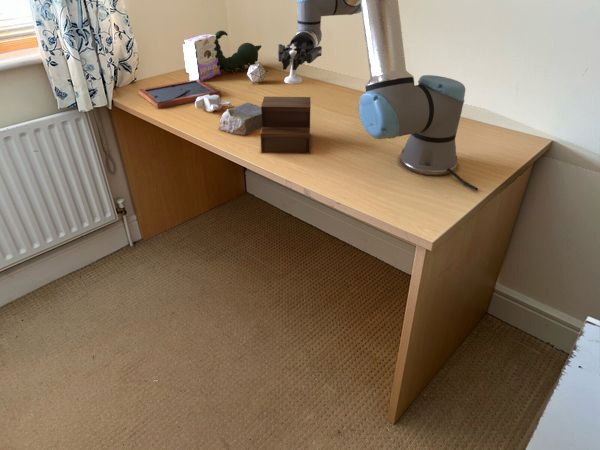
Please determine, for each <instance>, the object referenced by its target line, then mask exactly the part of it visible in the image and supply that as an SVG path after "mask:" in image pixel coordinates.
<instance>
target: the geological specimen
mask: <svg viewBox="0 0 600 450" xmlns="http://www.w3.org/2000/svg"><path fill="white" fill-rule="evenodd" d="M218 129H219V130H220V131H223V132H226V133H230V134H234V135H241V136H246V135H248V134H251V133H254V132H257V131H259V130H262V113H261V106H260V105H257V104H253V103H251V102H245V103H242V104H239V105H237V106H234V107H231V108H227V109H226V110H225V111H224V112H223V113H222V115H221V117H220V120H219V125H218Z"/></svg>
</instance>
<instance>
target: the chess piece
mask: <svg viewBox="0 0 600 450" xmlns="http://www.w3.org/2000/svg"><path fill="white" fill-rule="evenodd" d="M290 48H292V50H291V51H290V52H289V53H290V56H291V59H290V72H289V75H288V76H285V78H284V83H285V84H290V85H297V84H300V83H302V82H303V81H302V80H303V79H302V77H301V76H298V74H297V69H296V70H293V59H294V57H295V56H296V53H297V51H295V50H294V49H296V47H295V46H294V44H292V46H290Z"/></svg>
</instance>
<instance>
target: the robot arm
mask: <svg viewBox="0 0 600 450" xmlns="http://www.w3.org/2000/svg"><path fill="white" fill-rule="evenodd" d="M296 2H297V3H296V8H297V11H296V12H297V23H296V29H297V30H296V31H297V32H296V33H295V35H294V36H293V37H292V39H291V40H290V43H289V44H287V45H285V44H281V43H280V44H277V47H278V51H277V61H278V62H280V63H281V64H282V70H283V71H285V70H287V69H288V67H289V66H291V62H290V59H291V56H290V53H289V52H290V51H291V50H292V48H290V46H292V44H294V46H295V47H296V49H294V50H295V51H297V53H296V56H295V57H294V59H293V70H296V71H297V69H298V68H299V66H300V65H303V64H305V62H306V63H307V64H311V63H312V62H314V61H315V60H316V59H318V58H319V57H321V56H322V53H323V52H322V51H323V47H322V46H321V45H320V44H321V41H322V35H323V34H322V30H321V27H322V26H321V23H322V17H332V16H333V17H334V16H353V15H356V14H360V13H361V17H362V24H363V31H364V39H365V47H366V55H367V61H368V70H369V79H368V81H367V82H366V84H365V92H364V93H362V95H361V96H360V97H359V100H358V101H359V104H358V114H359V118H360V121H361V124H362V126H363V128H364V130H365V131H366V132H367V133H368V134H369V135H370V136H371V137H372V138H374V139H377V140H384V139H395V138H398V137H404V136H409V137H408V139H407V141H406V143H405V145H404V147H403V148H402V150H401V152H400V155H399V163H400V165H401V166H402V167H403V168H405V169H406V170H407V171H410V172H412V173H415V174H418V175H423V176H435V177H437V176H446V175H448V174H449V175H450V174H451V175H452V176H454V178H456V179H457V180H458V181H460V183H462V184H463V185H465V186H466V187H468V188H470V189H473V190H474V191H478V190H479V188H478V187H477V186H475V185H472V184H471V183H469V182H467V181H466V180H464V179H463V178H462V177H461V176H459V175H458V174H457V173H456V172H455V170H456V168H457V165H458V156H457V146H456V137H457V133H458V129H459V125H460V120H461V116H462V112H463V108H464V103H465V97H466V87H465V85H464V84H463V82H461V81H459V80H456V79H454V78H451V77H446V76H441V75H433V74H425V75H421V76H420V77H419V79H418V81H417V83H418V84H416V85H415V77H414V75H413V74H411V72H408V70H407V67H406V66H407V65H406V57H405V48H404V41H403V40H404V38H403V31H402V23H401V15H400V7H399V0H296Z"/></svg>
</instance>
